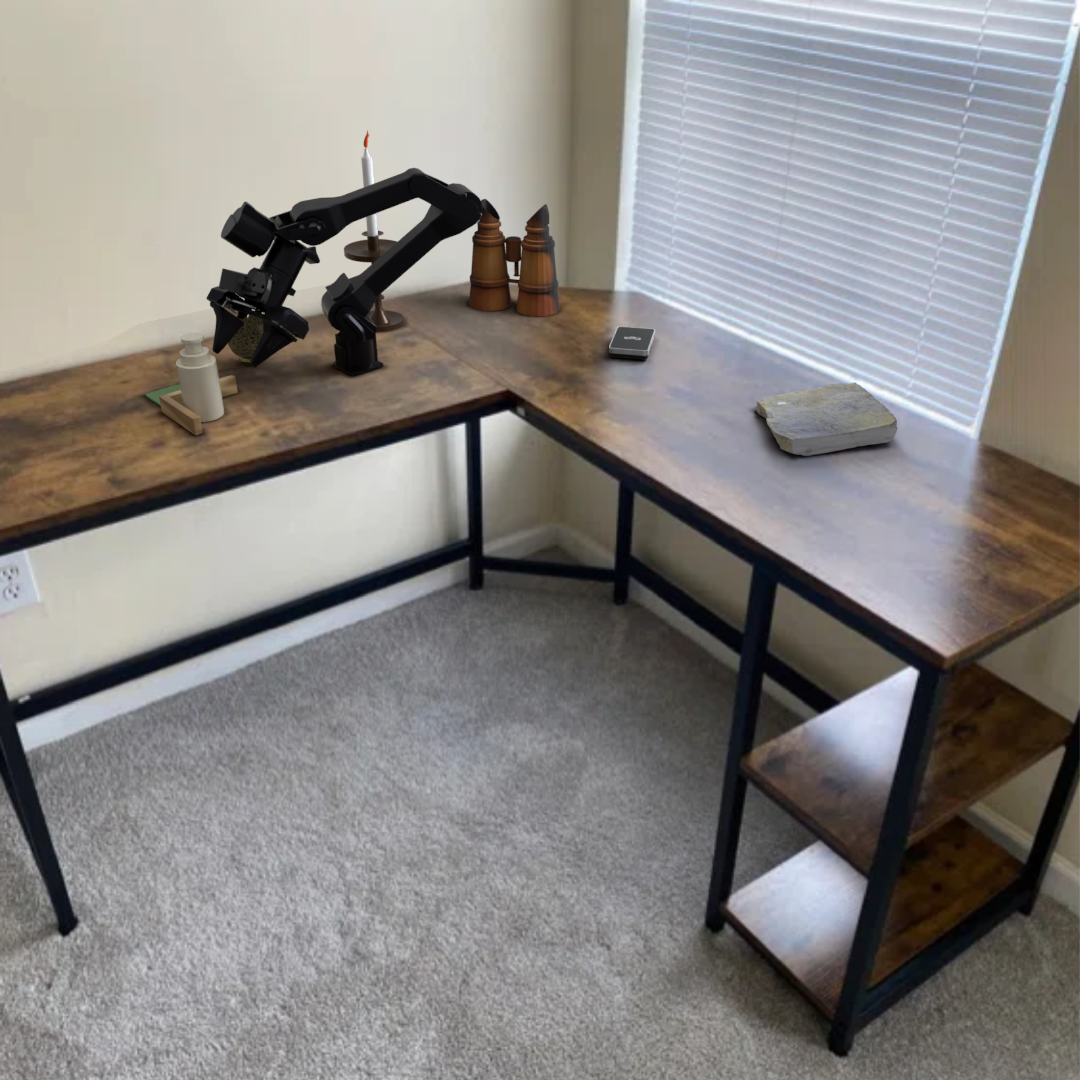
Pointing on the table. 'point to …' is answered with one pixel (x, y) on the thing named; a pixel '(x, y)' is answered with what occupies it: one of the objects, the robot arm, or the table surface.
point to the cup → (247, 339)
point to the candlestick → (373, 252)
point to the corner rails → (184, 416)
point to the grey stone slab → (827, 419)
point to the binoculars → (534, 271)
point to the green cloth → (161, 393)
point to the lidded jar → (199, 379)
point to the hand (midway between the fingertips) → (233, 359)
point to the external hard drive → (631, 342)
